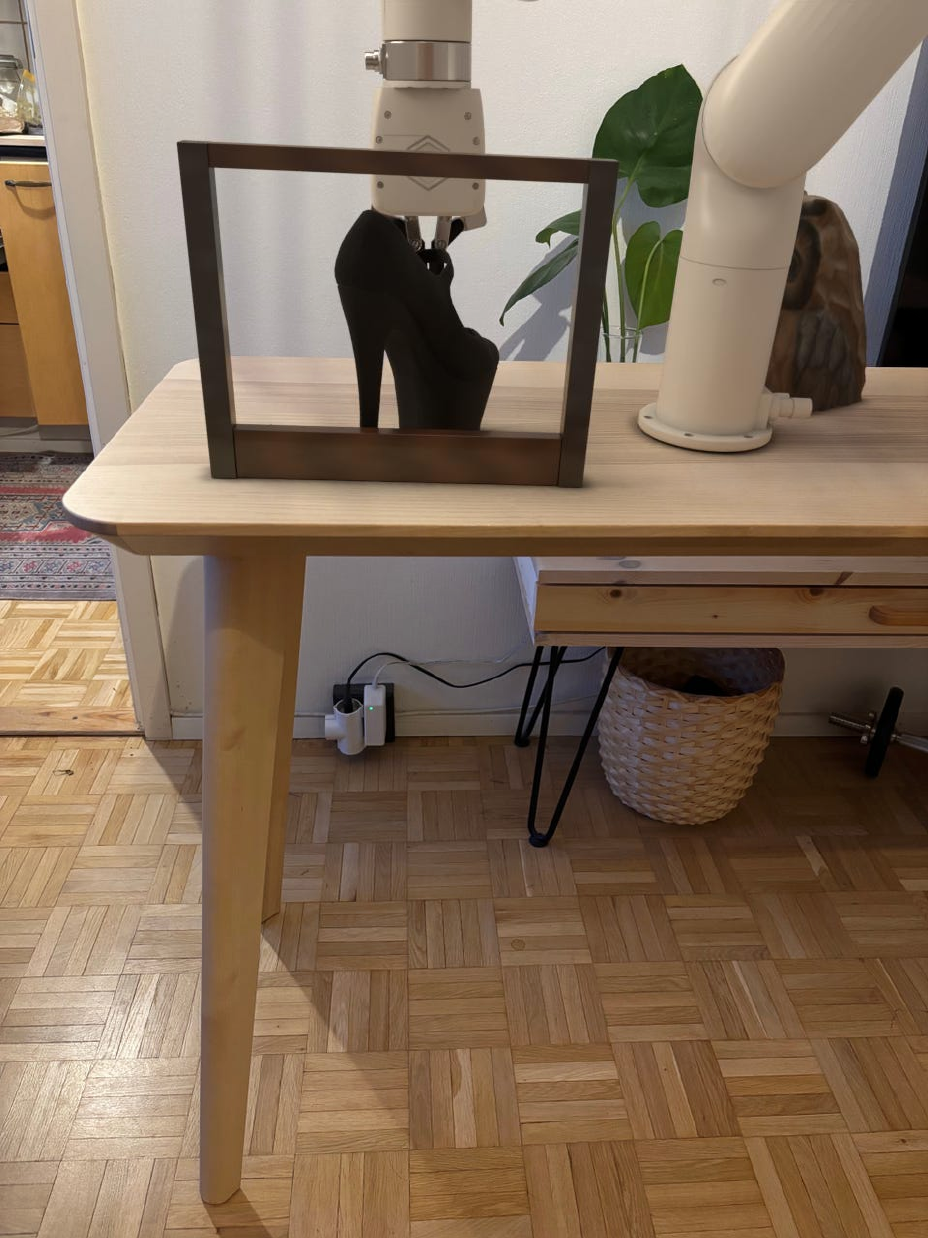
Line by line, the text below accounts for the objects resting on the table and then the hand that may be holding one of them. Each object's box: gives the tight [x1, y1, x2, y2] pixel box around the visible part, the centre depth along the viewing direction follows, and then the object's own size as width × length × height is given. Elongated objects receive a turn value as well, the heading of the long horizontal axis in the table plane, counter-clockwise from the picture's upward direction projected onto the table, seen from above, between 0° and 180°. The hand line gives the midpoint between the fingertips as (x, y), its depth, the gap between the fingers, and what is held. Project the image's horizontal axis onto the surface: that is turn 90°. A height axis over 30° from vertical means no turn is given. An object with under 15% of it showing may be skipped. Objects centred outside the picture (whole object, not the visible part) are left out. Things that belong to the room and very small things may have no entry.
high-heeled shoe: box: [333, 209, 500, 431], centre depth 77 cm, size 8×19×20 cm, turn 145°
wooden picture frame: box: [176, 139, 620, 488], centre depth 69 cm, size 30×2×24 cm, turn 92°
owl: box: [764, 189, 868, 413], centre depth 96 cm, size 13×13×20 cm
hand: (428, 293), depth 87 cm, fingers closed
